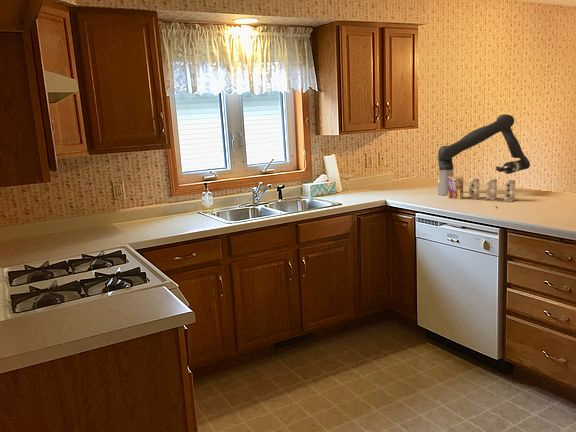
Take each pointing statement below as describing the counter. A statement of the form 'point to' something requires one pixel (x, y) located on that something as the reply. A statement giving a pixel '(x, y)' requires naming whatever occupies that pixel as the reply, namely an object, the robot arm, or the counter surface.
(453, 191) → the candy box
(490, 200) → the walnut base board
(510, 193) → the dotted block right
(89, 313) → the counter surface
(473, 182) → the dotted block left
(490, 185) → the plain birch block
